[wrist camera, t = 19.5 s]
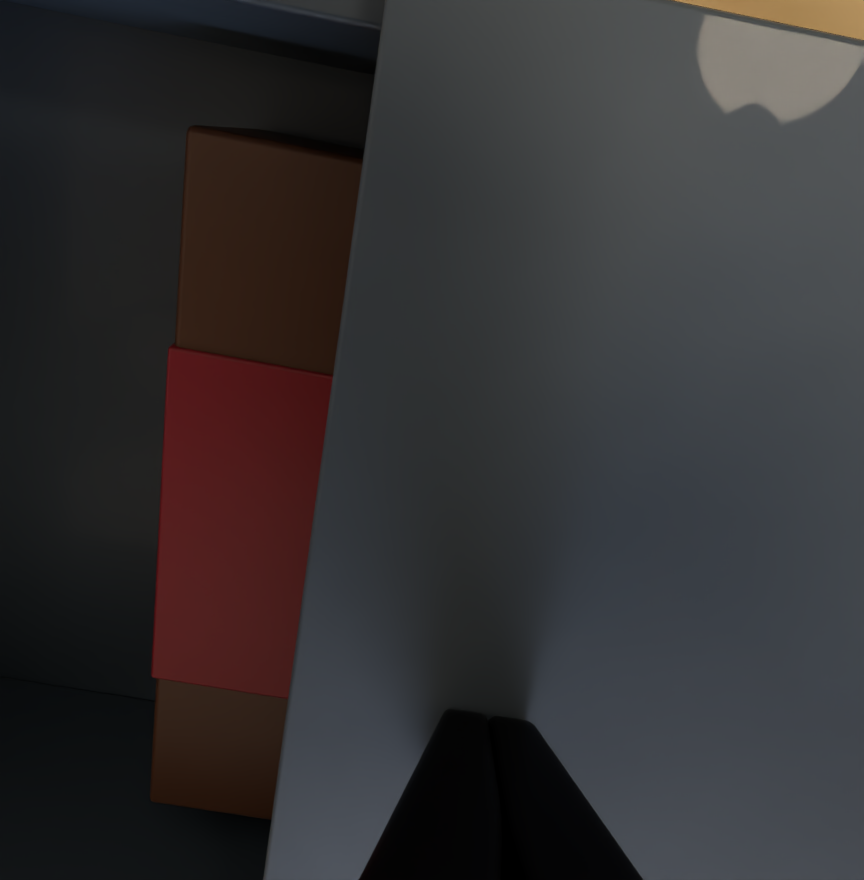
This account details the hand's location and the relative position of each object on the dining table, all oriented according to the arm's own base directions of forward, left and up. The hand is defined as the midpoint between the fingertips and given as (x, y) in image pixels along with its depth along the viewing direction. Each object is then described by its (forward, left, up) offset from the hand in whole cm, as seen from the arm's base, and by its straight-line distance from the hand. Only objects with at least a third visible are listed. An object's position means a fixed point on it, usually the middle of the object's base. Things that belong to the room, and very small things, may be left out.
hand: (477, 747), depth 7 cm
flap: (0, -2, 0) cm, 2 cm away
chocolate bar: (0, +2, -6) cm, 7 cm away
